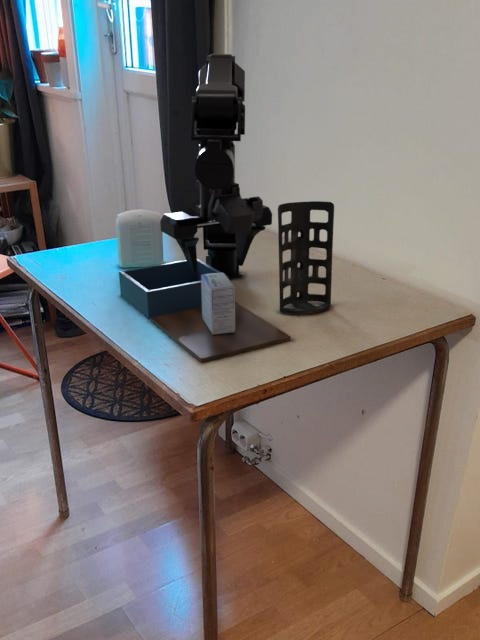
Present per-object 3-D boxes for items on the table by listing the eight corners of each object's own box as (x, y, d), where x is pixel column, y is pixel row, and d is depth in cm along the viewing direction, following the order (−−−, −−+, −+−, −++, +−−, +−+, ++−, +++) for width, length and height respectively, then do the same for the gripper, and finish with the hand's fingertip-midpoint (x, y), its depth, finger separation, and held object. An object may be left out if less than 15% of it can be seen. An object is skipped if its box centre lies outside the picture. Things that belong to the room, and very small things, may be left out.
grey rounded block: (162, 261, 153) (160, 206, 146) (165, 266, 149) (162, 211, 143) (118, 263, 151) (113, 208, 144) (119, 269, 147) (114, 213, 141)
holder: (289, 318, 124) (290, 208, 115) (269, 308, 130) (269, 203, 121) (337, 309, 128) (342, 202, 119) (316, 300, 134) (319, 198, 125)
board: (233, 304, 130) (233, 300, 130) (290, 340, 116) (290, 336, 116) (150, 321, 122) (150, 317, 122) (201, 363, 108) (201, 358, 108)
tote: (197, 282, 141) (196, 257, 138) (229, 302, 131) (229, 276, 128) (120, 296, 133) (118, 271, 130) (148, 319, 123) (146, 292, 121)
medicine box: (235, 333, 116) (236, 286, 112) (211, 335, 115) (210, 288, 111) (224, 316, 123) (224, 271, 118) (201, 318, 122) (200, 273, 117)
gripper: (188, 191, 96) (191, 293, 104) (293, 179, 104) (288, 274, 113) (156, 177, 104) (161, 273, 112) (255, 167, 112) (253, 256, 121)
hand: (217, 269), depth 114 cm, fingers open, 9 cm apart
